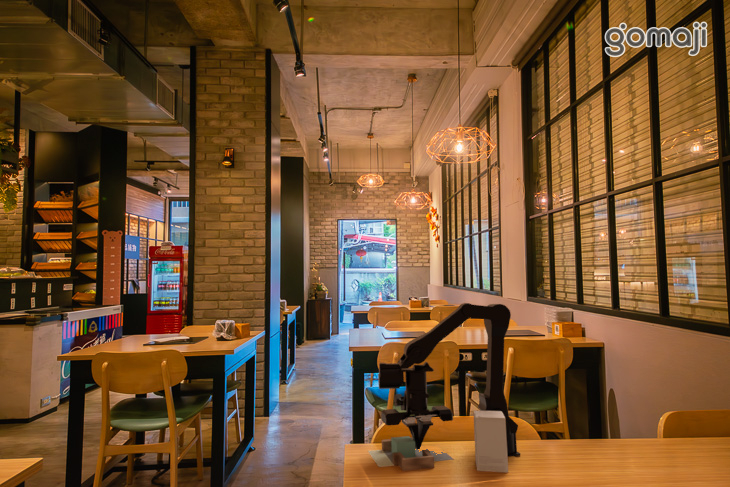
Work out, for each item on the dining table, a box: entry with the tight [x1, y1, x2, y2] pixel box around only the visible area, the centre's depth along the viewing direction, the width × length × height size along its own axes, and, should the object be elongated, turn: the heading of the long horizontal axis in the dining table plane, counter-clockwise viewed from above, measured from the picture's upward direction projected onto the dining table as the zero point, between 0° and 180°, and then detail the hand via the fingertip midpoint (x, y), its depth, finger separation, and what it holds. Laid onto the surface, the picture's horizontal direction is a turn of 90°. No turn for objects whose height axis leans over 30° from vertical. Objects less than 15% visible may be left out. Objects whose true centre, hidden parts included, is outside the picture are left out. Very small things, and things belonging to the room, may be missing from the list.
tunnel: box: [381, 436, 435, 472], centre depth 112 cm, size 10×16×3 cm, turn 13°
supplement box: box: [473, 410, 509, 473], centre depth 106 cm, size 7×7×13 cm
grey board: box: [367, 448, 455, 468], centre depth 114 cm, size 20×12×1 cm, turn 103°
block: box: [390, 435, 415, 458], centre depth 114 cm, size 5×5×4 cm
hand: (417, 448), depth 115 cm, fingers closed
